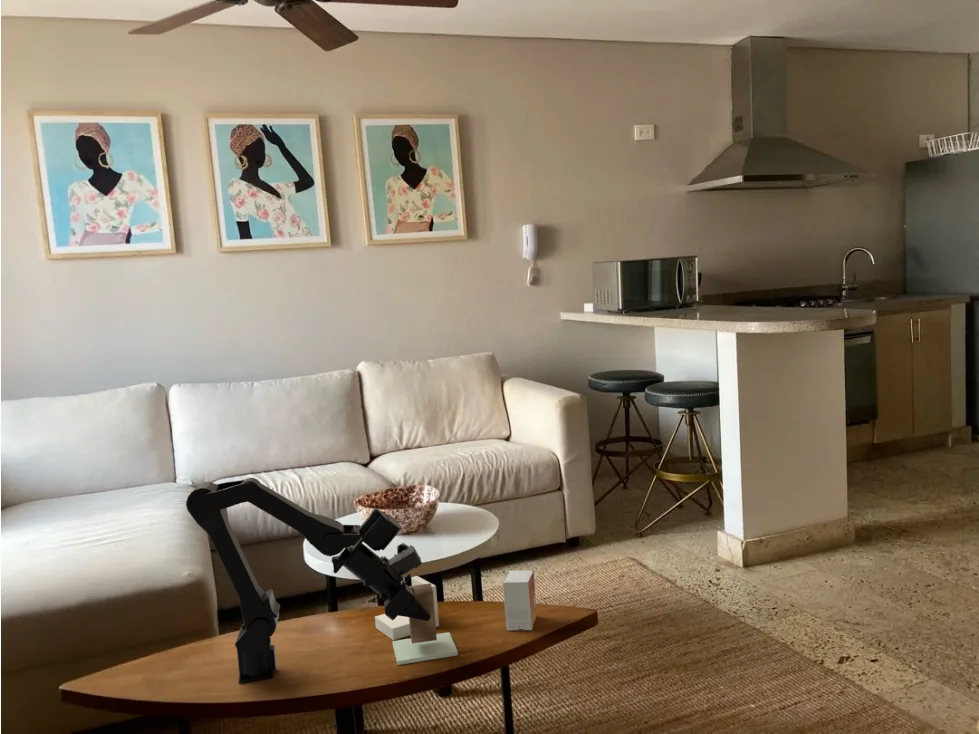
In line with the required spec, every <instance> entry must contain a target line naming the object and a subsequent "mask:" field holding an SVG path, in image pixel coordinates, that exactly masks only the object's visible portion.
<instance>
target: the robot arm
mask: <svg viewBox="0 0 979 734" xmlns="http://www.w3.org/2000/svg"><path fill="white" fill-rule="evenodd" d="M185 501H186V502H185V505H186V510H187V512H188V513H189V514H190V516H191V517H192V518H193V520H194V521H195V523H196V524H197V525H198V526H199V527H200V528H201V529H202V530H203V531H204V532H205V533H206V534H207V535H208V537H209V539H210V541H211V543H212V545H213V546H214V549H215V551H216V553H217V555H218V557H219V560H220V561H221V564H222V566H223V568H224V570H225V572H226V575H227V577H228V578H229V580H230V583H231V584H232V587H233V589H234V591H235V592H236V595H237V598H238V601H239V605H240V612H241V618H242V621H243V624H242V625H241V626H240V629H239V632H238V634H237V637H236V640H235V644H234V646H235V648H236V653H237V665H238V673H239V674H238V679H237V681H238V683H239V684H240V683H241V684H242V683H247V682H252V681H253V682H254V681H260V680H265V679H271V678H273V677H274V674H275V671H276V670H277V657H276V655H277V654H276V647H275V645H274V644H272V636H273V635H274V633H275V632H276V629H277V625H278V621H279V620H278V619H279V617H280V612H279V611H280V607H281V604H280V603H279V602H277V599H276V598H275V594H274V591H273V589H272V588H270V589H268V590H267V591H265V590H264V589H263V588H262V587H261V586H260V585H259V584H258V581H257V579H256V577H255V575H254V573H253V571H252V568H251V567H250V565H249V562H248V560H247V558H246V556H245V554H244V552H243V549H242V548H241V547H242V546H241V545H240V543H239V541H238V539H237V537H236V535H235V533H234V530H233V529H232V526H231V524H230V521H229V515H228V508H230V507H233V506H236V505H239V504H243V503H249V504H250V505H253V506H255V507H256V508H258V509H260V510H261V511H264V513H266V514H268V515H270V516H272V517H273V518H275V519H277V520H278V521H279V522H281V523H283V524H285V525H287V526H288V527H290V528H292V529H294V530H295V531H297V532H298V533H299V534H301V535H302V537H304V539H305V540H306V541H308V543H309V545H311V546H312V547H313V548H315V549H316V550H317V551H318V552H319V553H320V554H322V555H323V556H326V557H331V562H332V567H333V574H337V573H338V572H339V571H340V570H341V569H342V567H344V568H345V569H346V570H347V571H348V572H349V573H351V574H352V575H353V576H355V577H356V578H358V579H359V580H360V581H361V582H363V586H364V587H365V588H366V589H369V588H370V589H372V590H373V591H374V592H375V593H377V594H378V596H379V599H380V600H381V601H382V602H383V605H384V614H385V615H386V616H387V617H389V618H390V619H391V620H394V619H395V618H396V617H397V616H404V617H410V618H415V619H419V620H424V621H428V620H429V619H430V618H431V616H430V615H429V614H428V613H427V611H426V610H425V609H424V608H423V607H422V606H421V605H420V604H419V602H418V601H417V600H416V599H415V595H414V588H412V589H411V588H410V587H409V586H412V579H411V577H412V575H411V573H408V572H410V571H412V570H413V569H417V568H419V567H420V566H421V565H422V564H423V561H422V559H421V556H420V555H419V553H418V551H417V550H416V548H415V546H414V545H412V544H410V545H407V544H405V543H404V542H401V543H400V544H398V545H397V546H396V549H397V552H396V553H397V554H396V553H395V554H394V555H393V557H391V558H387V556H383V555H381V557H380V556H379V555H378V554H376V553H375V552H380V551H384V550H385V549H386V548H387V547H388V546H389V545H390V544H391V543H392V541H393V540H394V539H395V538H396V536H397V535H398V534H399V533H400V531H402V529H403V527H402V525H401V524H400V523H399V521H397V520H396V519H395V518H394V517H392V516H391V515H390V514H389V513H388V514H387V513H386V512H385V511H382V510H380V509H379V508H377V507H374V508H373V510H372V511H371V512H370V514H369V515H368V517H367V518H366V519H365V520H364V522H363V523H362V524H361V525H360V524H343V523H341V522H340V521H338V520H336V519H332V518H330V517H329V516H325V515H322V514H316V513H314V512H311V511H308V510H306V509H305V508H303V507H302V506H300V505H298V504H296V503H295V502H294V501H292V500H291V499H288V498H287V497H285V496H283V495H282V494H280V493H278V492H277V491H275V490H273V489H272V488H270V487H268V485H267V486H266V485H265V484H264V483H261V481H260V480H259V479H257V478H255V477H247V478H245V479H240V480H239V479H238V480H232V481H226V482H221V483H215V482H212V481H206V482H201V483H200V484H198V485H197V486H196V487H195V488H194V489H193V490H192V491H191V492H190V494H188V496H187V499H186V500H185ZM372 550H373V551H372ZM374 551H375V552H374ZM405 574H407V576H406V577H404V575H405Z"/></svg>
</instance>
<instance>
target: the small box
mask: <svg viewBox="0 0 979 734" xmlns="http://www.w3.org/2000/svg"><path fill="white" fill-rule="evenodd" d="M502 589H503V599H504V600H503V601H504V613H505V625H506V631H519V630H518V629H523V630H522V631H533V628H534V625H535V623H534V621H535V622H536V620H537V618H536V616H537V617H538V613H537V602H536V601H537V597H536V585H535V571H534V570H527V569H526V570H509V571H508V573H507V575H506V577H505V579H504V581H503V582H502ZM535 619H536V620H535ZM533 624H534V625H533Z"/></svg>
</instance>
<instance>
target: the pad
mask: <svg viewBox="0 0 979 734" xmlns="http://www.w3.org/2000/svg"><path fill="white" fill-rule="evenodd" d="M436 636H437V640H435V641H427V642H420V643H412V641H411V637H410V638H405V639H397V640H392V647H393V652H394V656H395V660H396V664H397V666H401V665H407V664H412V663H420V662H424V661H430V660H435V659H443V658H449V657H454V656H458V655H459V653H458V652H459V651H458V649H457V646H456V644H455V642H454V640H453V638H452V635H451V632H443V633H442V632H441V633H436Z"/></svg>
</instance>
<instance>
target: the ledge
mask: <svg viewBox="0 0 979 734" xmlns="http://www.w3.org/2000/svg"><path fill="white" fill-rule="evenodd" d="M411 579H412V586H414V585H422V584H430V583H431V582H430V581H427V580H426V579H424V578H422V577H420V576H418V575H415V576H411ZM431 586H432V589H433V597H434V610H435V623H436V628H437V627H440V622H439V621H440V620H439V610H438V609H439V607H438V599H437V598H438V596H437V586H436V585H435V584H433V583H431ZM374 621H375V623H374V624H375V629H377V630H379V631H380V632H381V633H382V634H384V635H386V636H387V637H388V638H390V640H392V641H397V640H400V639H402V638H405V637H409V636H411V635H410V624H409V617H404V616H397V617H396V618H395V619H394V620H391V619H390V618H389V617H387V616H386V615H385V613H383V614H379V615H376V616H374Z"/></svg>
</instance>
